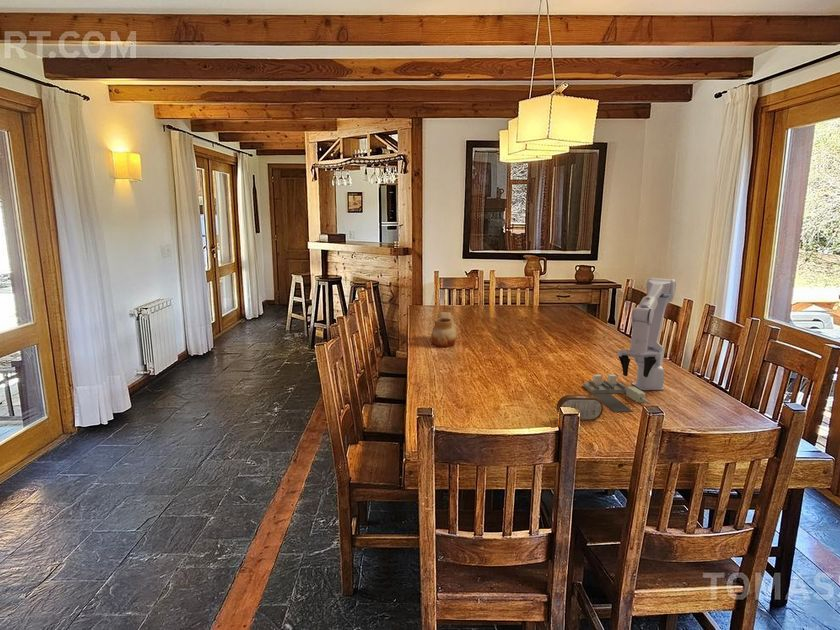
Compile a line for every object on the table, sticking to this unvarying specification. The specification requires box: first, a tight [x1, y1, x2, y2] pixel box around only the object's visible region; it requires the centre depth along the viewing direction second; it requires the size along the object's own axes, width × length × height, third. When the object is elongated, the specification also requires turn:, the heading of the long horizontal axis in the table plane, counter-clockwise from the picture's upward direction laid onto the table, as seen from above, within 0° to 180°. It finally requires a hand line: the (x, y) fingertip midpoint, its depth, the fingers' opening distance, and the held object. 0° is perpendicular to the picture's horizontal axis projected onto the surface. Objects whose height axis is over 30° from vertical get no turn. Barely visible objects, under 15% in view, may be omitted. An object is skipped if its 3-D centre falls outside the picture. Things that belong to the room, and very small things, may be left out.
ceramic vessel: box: [430, 311, 459, 349], centre depth 274 cm, size 14×26×15 cm, turn 175°
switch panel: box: [582, 379, 628, 395], centre depth 202 cm, size 15×9×2 cm, turn 95°
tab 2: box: [606, 374, 618, 385], centre depth 204 cm, size 3×2×4 cm
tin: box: [556, 394, 604, 422], centre depth 171 cm, size 15×3×8 cm, turn 92°
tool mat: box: [592, 393, 634, 413], centre depth 188 cm, size 7×18×1 cm, turn 5°
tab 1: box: [591, 374, 603, 385], centre depth 203 cm, size 3×2×4 cm
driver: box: [625, 386, 651, 405], centre depth 190 cm, size 3×13×4 cm, turn 7°
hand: (635, 376), depth 191 cm, fingers open, 7 cm apart
